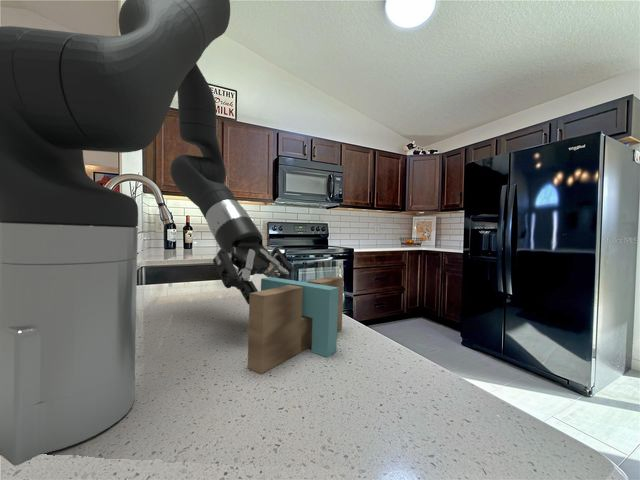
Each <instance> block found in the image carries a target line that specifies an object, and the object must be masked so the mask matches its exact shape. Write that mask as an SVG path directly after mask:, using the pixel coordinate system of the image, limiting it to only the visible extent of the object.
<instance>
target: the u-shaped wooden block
mask: <svg viewBox="0 0 640 480" xmlns="http://www.w3.org/2000/svg"><path fill="white" fill-rule="evenodd" d="M307 283H313V284H320V285H326V286H332V287H339V293H338V321H337V333H339V332H340V331H342V330H343V329H342V328H343V310H344V309H343V306H344V305H343V304H344V277H340V276H333V275H331V276H325V277H321V278H317V279H313V280H307ZM302 297H303V287H299V286H293V285H287V286H282V287H277V288H273V289H268V290H263V291H261V290H258V292H253V293H250V299H249V304H248V309H249V310H248V311H249V312H248V335H247V337H248V340H247V341H248V342H247V369H248V370H251V371H254V372H256V373H258V374H260V375H262V374H264V373H266V372H269V371H270V370H272V369H273V368H275V367H278V365H280V364H282V363H284V362H286V361H288V360H290V359H291V358H293V357H295V356H297V355H299V354H300V353H302V352H304V351H306V350H308V349H309V348H312V323H313V318H310V317H306V316H302Z"/></svg>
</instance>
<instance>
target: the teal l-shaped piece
mask: <svg viewBox="0 0 640 480" xmlns="http://www.w3.org/2000/svg"><path fill="white" fill-rule="evenodd" d="M287 285H293V286H299V287H303V297H302V316H306V317H310V318H313V323H312V346H311V353H314V354H317V355H319V356H323V357H324V358H325V357H326V358H329V357H331V355H333V354H335V353H336V352H337V349H338V348H337V346H338V345H337V342H338V332H337V321H338V293H339V287H332V286H326V285H320V284H313V283H307V282H306V281H299V280H294V279H293V280H292V279H291V280H287V279H281V278H275V277H264V278H263V277H262V278H260V291H263V290H268V289H273V288H277V287H282V286H287Z"/></svg>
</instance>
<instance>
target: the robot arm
mask: <svg viewBox="0 0 640 480" xmlns="http://www.w3.org/2000/svg"><path fill="white" fill-rule="evenodd" d="M230 17H231V1H230V0H125V1H124V2H123V3H122V5H121V7H120V10H119V13H118V29H119V33H120V35H100V34H92V33H91V34H89V33H81V32H70V31H63V30H61V31H60V30H52V29H44V28H43V29H42V28H36V27H26V26H25V27H24V26H15V25H13V26H12V25H6V26H0V456H1V457H2V458H4V459H5V460H6V461H7V462H8V463H10V464H11V465H13V466H15V467H16V466H20V465H22V464H24V463H26V462H27V461H29V460H31V459H33V458H36V457H38V456H40V455H43V454H47V453H51V452H55V451H59V450H62V449H65V448H68V447H70V446H74V445H76V444H79V443H81V442H83V441H86V440H88V439H91V438H92V437H95V436H97V435H98V434H100V433H102V432H104V431H105V430H106V429H108V428H111V426H113V425H114V424H115V423H116V424H117V422H119V421H121V419H123V418H124V416H125V415H127V414H128V413H129V412H130V410H131V408H132V407H133V405H134V402H135V382H136V373H135V372H136V333H137V331H136V329H137V290H138V289H137V288H138V287H137V285H138V282H137V281H138V280H137V279H138V249H139V248H138V242H139V228H138V226H139V207H138V204H137V202H136V200H135V198H133V197H131V196H130V195H127V194H125V193H122V192H119V191H117V190H114V189H111V188H108V187H106V186H104V185H101V184H99V183H98V182H96V181H95V180H94V179H92V178H91V177H90V176H89V175H88V174H87V171H86V167H85V159H84V151H89V152H90V151H91V152H104V153H106V152H107V153H118V154H119V153H120V154H122V153H133V152H134V153H135V152H138V151H142V150H144V149H146V148H147V147H149V146H150V145H151V144H152V143H153V142H154V140H155V139H156V138H157V136H158V135H159V133H160V131H161V130H162V126H163V125H164V122H165V120H166V118H167V116H168V113H169V111H170V108H171V105H172V103H173V101H174V99H175V95H176V93H177V104H178V105H177V109H178V110H177V111H178V128H179V129H178V130H179V137H180V139H181V140H183V141H184V142H186V143H188V144H191V145H192V146H193V145H194V147H197V148H198V149H199V151H200V153H201V155H202V156H198V155H191V154H180V155H178V156H175V158H174V159H173V160H171V164H170V169H169V170H170V176H171V179H172V182H173V183H174V185H175V186H176V188H177V189H178V190H179V191H180V192H181V193H182V194H183V195H185V197H186V198H187V199H188V200H189V201H190V202H192V203H193V204H194V205H195V206H197V207H198V209H199V210H200V212H201V214H202V216H203V217H204V219H205V220H206V223H207V225H208V228H209V231H210V233H211V234H212V236H213V238H214V240H215V242H216V243H217V245H218V246H219V248H220V249H219V250H218V252H217V253H216V255H215V256H214V257H213V259H212V262H213V265H214V267H215V269H216V271H217V273H218V276H219V277H220V279H221V283H222V284H223V286H224V287H225V288H226V289H231V288H236V290H238V291H240V293H241V295H242V297H243V299H244V300H245V302H246V304H248V305H249V299H250V293H253V292H258V291H259V290H258V289H257V287H256V285H255V284H254V282H253V280H250V279H251V276H254V275H264V276H265V277H266V278H269V277H275V278H281V279H287V280H292V278H291V277H290V274H291V273H292V272H293V271H294V268H293V267H292V265H291V263H290V262H289V261H288V260H287V258H286V257H285V255H284V254H283V253H282V251H281V250H280V249H279V248H278V247H274V248H273V249H272V250H268V249H267V248H266V247H265V246H264V243H263V241H264V240H263V234H262V233H261V231H260V230H259V228H258V227H257V226H256V224H255V223H254V221H253V220H252V218H251V217H250V215H249V214H248V212H247V210H246V209H244V207H243V206H242V205H241V204H240V202H239V201H238V199H237V198H236V197H235V195H234V194H233V192H232V191H231V189H230V188H229V187H228V186H227V185H226V184H225V182H226V179H227V172H226V171H227V170H226V166H225V162H224V159H223V155H222V152H221V147H220V144H219V141H218V133H217V131H218V130H217V128H218V127H217V104H216V100H215V96H214V94H213V91H212V88H211V87H210V85H209V83H208V81H207V80H206V78H205V76H204V75H203V73H202V71H201V69H200V67H199V65H198V62H199V60H200V58H201V57H202V55H203V54H204V52H205V50H206V49H207V48H208V47H209V46H210V44H211V43H213V41H215V40H216V39H218V38H219V37H221V36H222V35H224V34H225V33H226V31H227V29H228V27H229V23H230ZM271 264H272V266H271V267H270V265H271ZM235 267H236V268H235ZM269 268H270V269H269ZM236 269H237V270H236ZM276 271H277V272H278V273H279V274H278V273H277V272H276Z"/></svg>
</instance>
